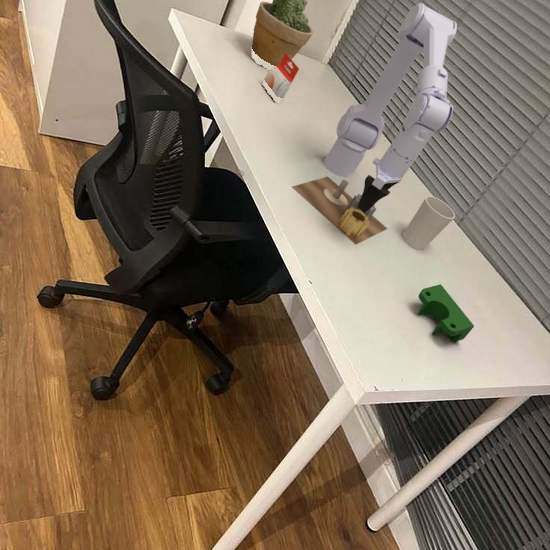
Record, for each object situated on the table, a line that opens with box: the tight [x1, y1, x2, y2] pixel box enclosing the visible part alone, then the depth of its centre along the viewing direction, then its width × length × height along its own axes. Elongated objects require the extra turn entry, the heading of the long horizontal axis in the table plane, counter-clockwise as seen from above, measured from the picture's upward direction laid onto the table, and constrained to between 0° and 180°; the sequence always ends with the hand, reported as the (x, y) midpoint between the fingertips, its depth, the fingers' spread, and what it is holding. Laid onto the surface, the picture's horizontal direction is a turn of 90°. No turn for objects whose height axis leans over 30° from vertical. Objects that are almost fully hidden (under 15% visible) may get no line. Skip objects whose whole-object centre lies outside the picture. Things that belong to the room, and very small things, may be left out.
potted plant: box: [251, 0, 314, 66], centre depth 173 cm, size 18×19×25 cm
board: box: [291, 176, 388, 245], centre depth 127 cm, size 16×20×6 cm
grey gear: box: [346, 193, 377, 220], centre depth 128 cm, size 6×6×4 cm
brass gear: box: [338, 207, 370, 239], centre depth 122 cm, size 6×6×4 cm
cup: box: [401, 195, 456, 252], centre depth 130 cm, size 8×8×12 cm
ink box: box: [263, 53, 300, 99], centre depth 159 cm, size 3×9×12 cm, turn 28°
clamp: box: [417, 283, 475, 343], centre depth 111 cm, size 12×6×9 cm, turn 23°
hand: (366, 204), depth 118 cm, fingers open, 7 cm apart
